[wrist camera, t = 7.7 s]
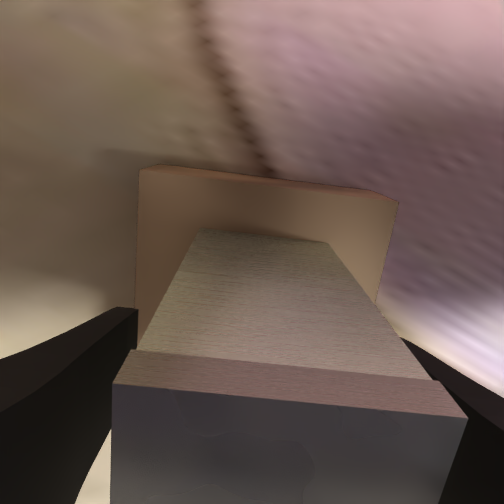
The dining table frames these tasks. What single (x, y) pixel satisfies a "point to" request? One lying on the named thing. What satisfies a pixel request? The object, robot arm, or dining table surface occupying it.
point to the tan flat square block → (251, 223)
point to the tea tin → (275, 388)
